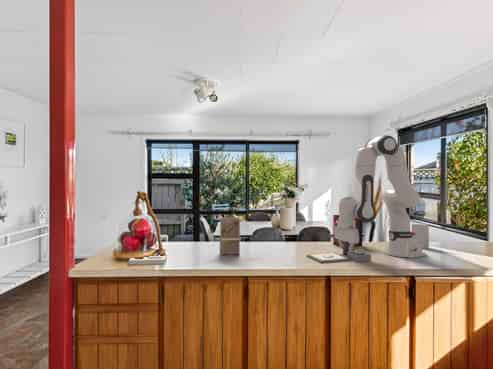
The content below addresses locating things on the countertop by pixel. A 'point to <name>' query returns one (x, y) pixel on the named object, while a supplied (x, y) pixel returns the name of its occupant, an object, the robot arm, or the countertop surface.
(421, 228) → the skincare box
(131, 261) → the holder
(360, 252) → the button
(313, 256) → the drawing board
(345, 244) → the marker
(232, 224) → the brown tall block
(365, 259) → the button housing
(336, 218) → the cleaning product box
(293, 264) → the countertop surface
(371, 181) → the robot arm
